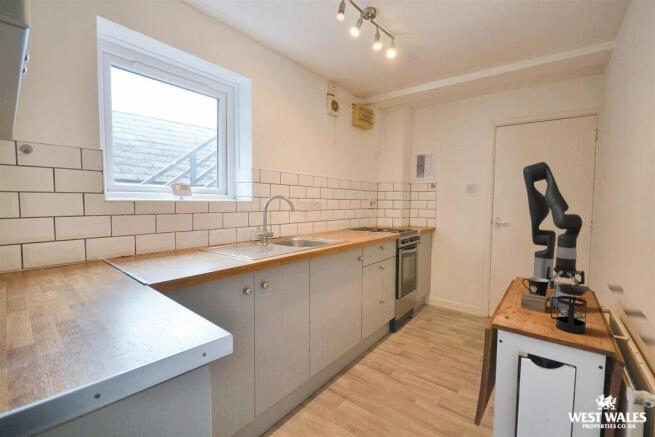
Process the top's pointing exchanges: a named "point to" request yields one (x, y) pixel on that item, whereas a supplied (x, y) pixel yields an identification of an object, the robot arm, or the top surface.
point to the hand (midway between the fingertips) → (564, 290)
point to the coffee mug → (537, 286)
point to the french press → (571, 308)
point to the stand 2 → (560, 305)
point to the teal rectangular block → (559, 290)
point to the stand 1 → (534, 302)
